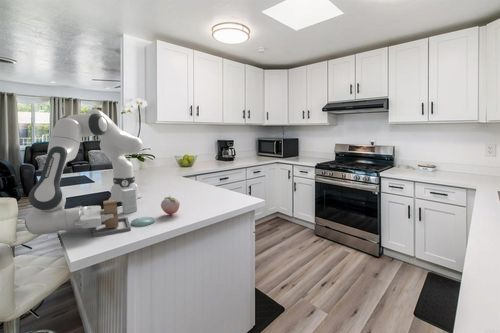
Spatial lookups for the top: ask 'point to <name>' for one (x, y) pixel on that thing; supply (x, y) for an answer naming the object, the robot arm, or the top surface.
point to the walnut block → (111, 208)
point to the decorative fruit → (170, 205)
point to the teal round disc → (142, 221)
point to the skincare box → (128, 200)
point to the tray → (113, 230)
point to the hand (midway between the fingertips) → (113, 213)
